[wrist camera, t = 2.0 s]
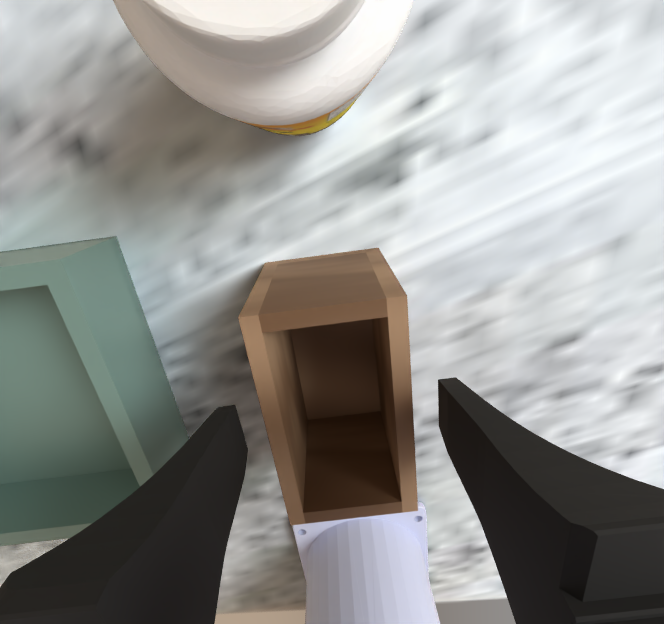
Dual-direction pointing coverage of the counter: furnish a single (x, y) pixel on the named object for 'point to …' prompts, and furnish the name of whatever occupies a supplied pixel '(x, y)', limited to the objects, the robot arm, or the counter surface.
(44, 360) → the green crate
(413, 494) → the walnut crate
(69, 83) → the counter surface
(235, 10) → the supplement bottle
